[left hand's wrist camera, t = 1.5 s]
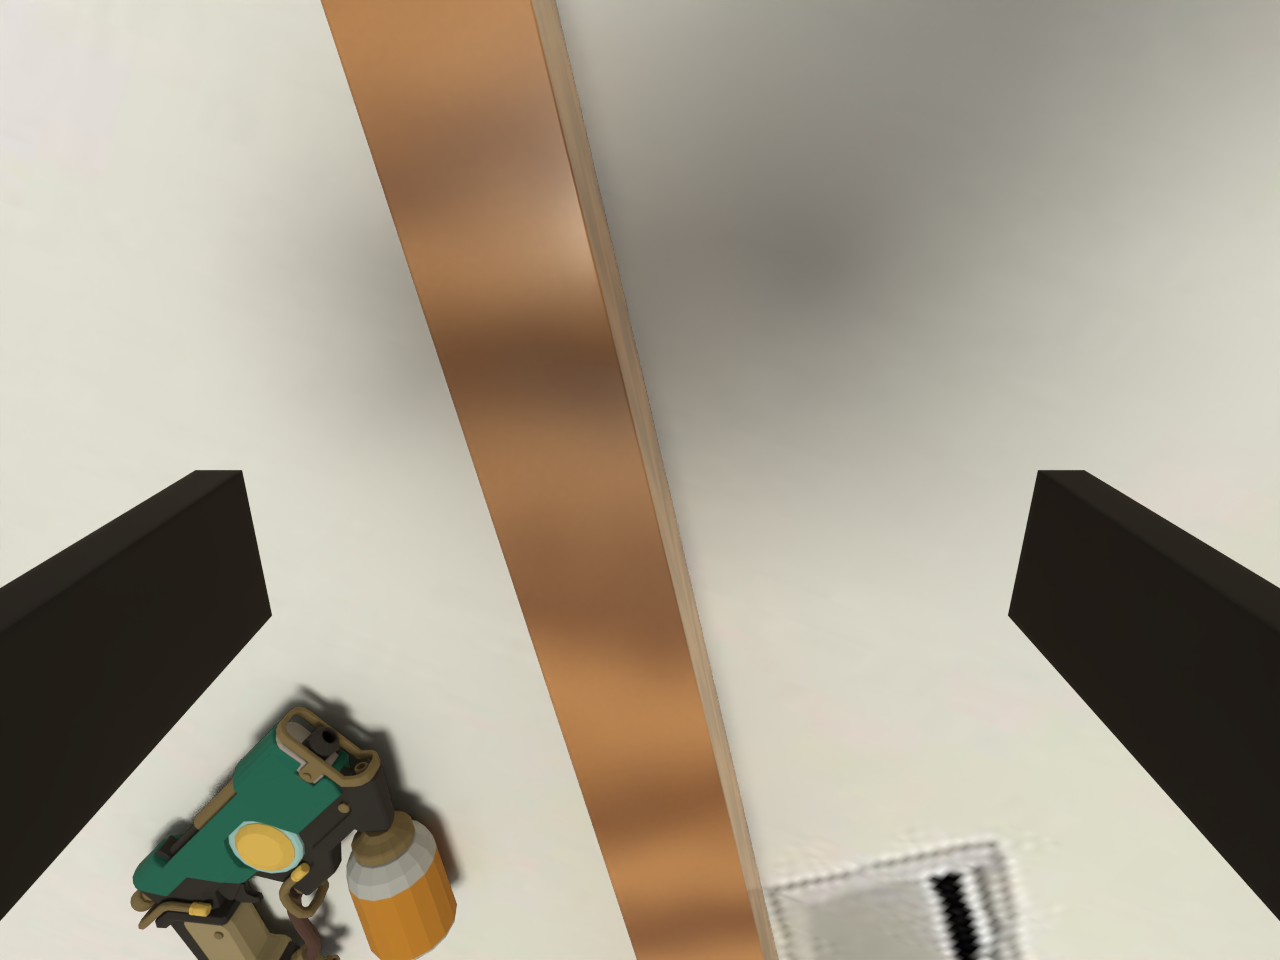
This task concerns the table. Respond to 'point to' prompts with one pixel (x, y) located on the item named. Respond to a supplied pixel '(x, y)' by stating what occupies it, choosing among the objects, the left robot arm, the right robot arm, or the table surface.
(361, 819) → the spray gun
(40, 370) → the table surface
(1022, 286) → the table surface
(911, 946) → the table surface
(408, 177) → the bar
